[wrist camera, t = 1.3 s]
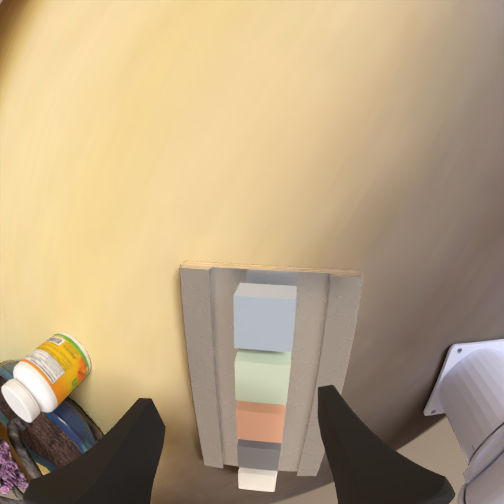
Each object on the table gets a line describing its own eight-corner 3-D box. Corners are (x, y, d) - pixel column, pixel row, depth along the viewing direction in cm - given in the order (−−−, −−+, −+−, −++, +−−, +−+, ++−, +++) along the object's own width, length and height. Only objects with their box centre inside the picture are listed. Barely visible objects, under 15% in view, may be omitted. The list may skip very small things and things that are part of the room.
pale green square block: (291, 347, 19) (290, 365, 17) (287, 386, 19) (286, 404, 18) (240, 344, 19) (234, 361, 17) (240, 382, 20) (235, 400, 18)
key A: (278, 459, 22) (276, 476, 20) (276, 476, 23) (274, 491, 21) (241, 456, 22) (238, 472, 21) (242, 473, 23) (238, 488, 21)
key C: (286, 396, 20) (285, 414, 18) (283, 424, 21) (281, 443, 19) (240, 392, 20) (235, 410, 18) (241, 421, 21) (236, 438, 19)
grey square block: (296, 285, 17) (296, 299, 16) (292, 335, 18) (292, 352, 16) (240, 282, 18) (233, 295, 16) (240, 331, 19) (234, 347, 17)
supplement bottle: (83, 381, 26) (33, 435, 17) (50, 346, 26) (-6, 392, 16) (99, 360, 25) (41, 420, 15) (62, 321, 24) (-3, 369, 15)
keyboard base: (360, 269, 19) (365, 277, 17) (317, 464, 25) (317, 476, 23) (185, 260, 20) (177, 267, 19) (206, 454, 26) (202, 464, 25)
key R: (282, 432, 21) (280, 450, 19) (279, 454, 22) (277, 471, 20) (241, 428, 21) (236, 445, 19) (241, 450, 22) (237, 466, 20)
